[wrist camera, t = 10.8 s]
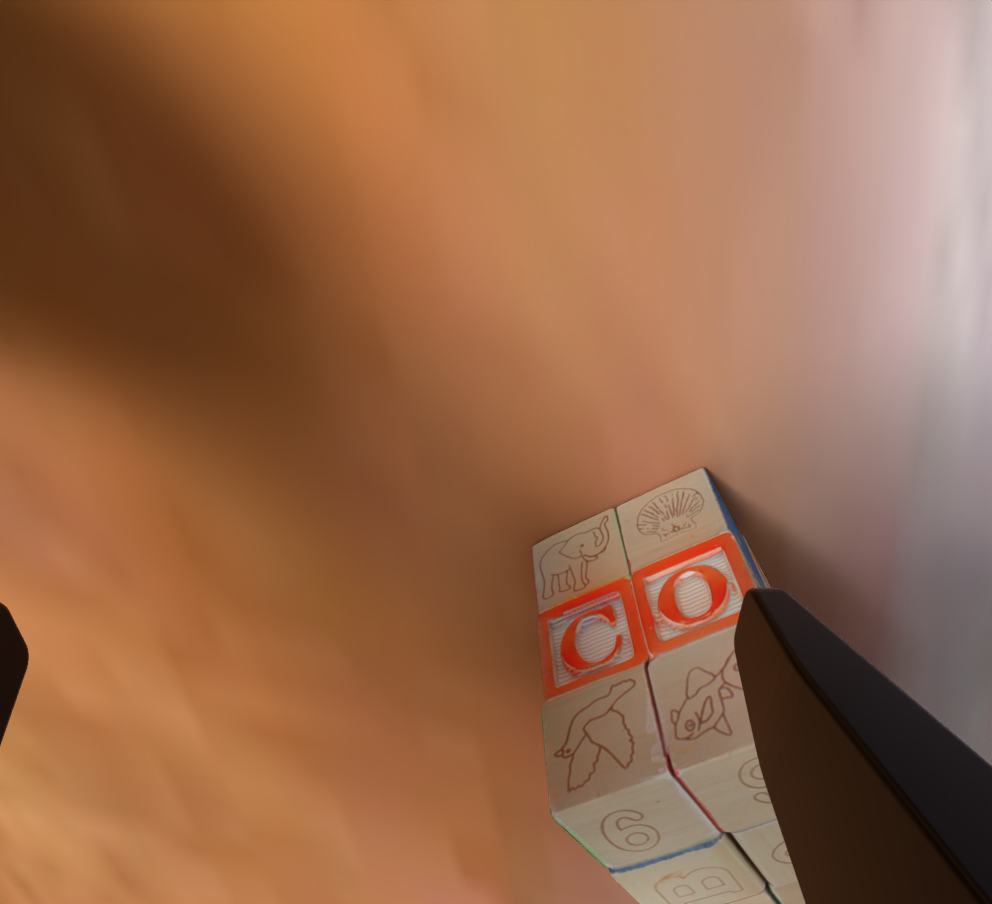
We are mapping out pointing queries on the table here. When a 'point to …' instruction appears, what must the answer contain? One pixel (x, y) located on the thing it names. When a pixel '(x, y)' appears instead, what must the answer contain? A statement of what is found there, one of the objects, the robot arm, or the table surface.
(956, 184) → the table surface
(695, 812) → the stack of blocks
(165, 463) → the table surface
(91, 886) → the table surface
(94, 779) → the table surface
